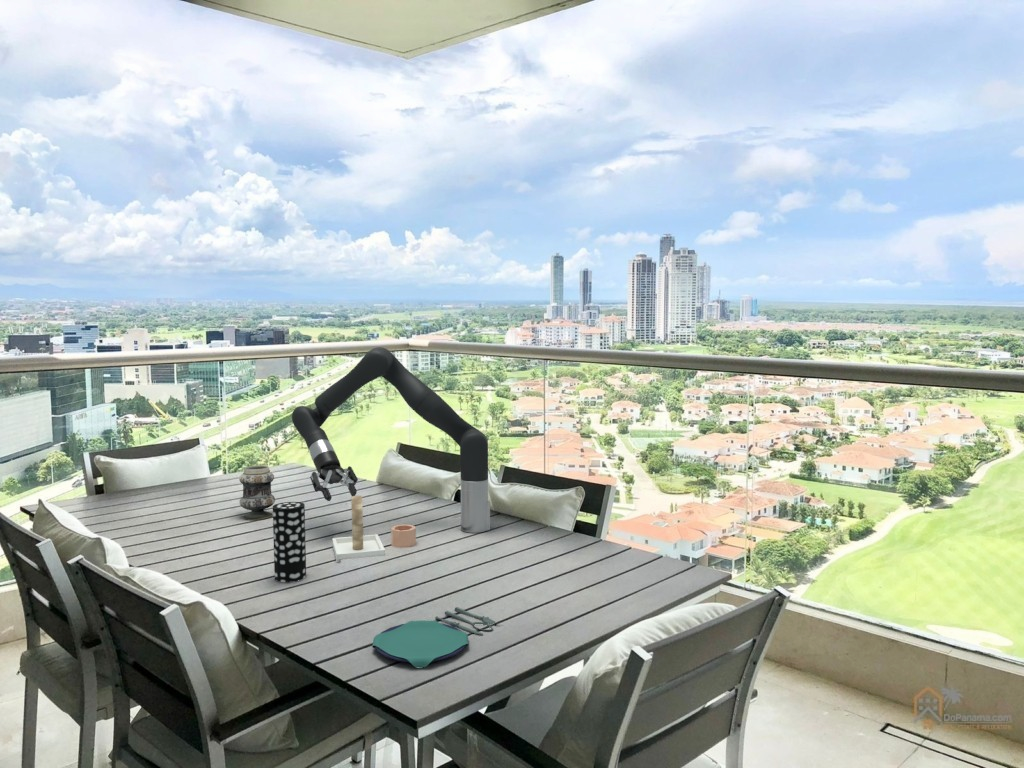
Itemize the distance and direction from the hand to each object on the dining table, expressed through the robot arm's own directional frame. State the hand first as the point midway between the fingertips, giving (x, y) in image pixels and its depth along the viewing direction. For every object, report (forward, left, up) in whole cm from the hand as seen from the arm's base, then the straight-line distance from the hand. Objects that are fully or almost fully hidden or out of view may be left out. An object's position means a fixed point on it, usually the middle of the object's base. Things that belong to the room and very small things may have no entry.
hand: (342, 497), depth 233 cm
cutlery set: (-14, +80, -15) cm, 82 cm away
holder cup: (-17, +10, -14) cm, 25 cm away
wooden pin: (-3, +11, -13) cm, 18 cm away
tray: (-3, +11, -14) cm, 19 cm away
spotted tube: (+17, +28, -15) cm, 36 cm away
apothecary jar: (+27, -42, -15) cm, 51 cm away
